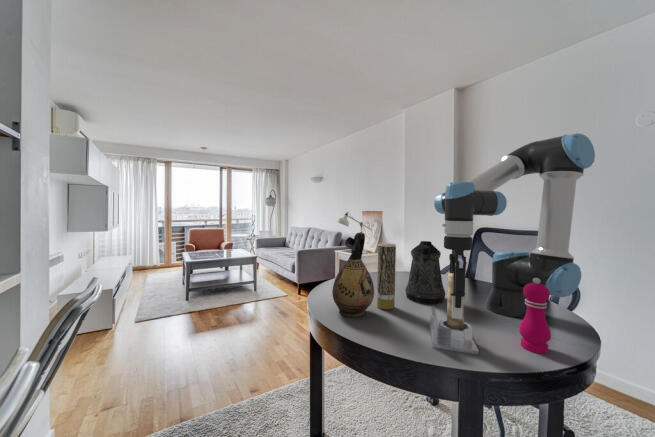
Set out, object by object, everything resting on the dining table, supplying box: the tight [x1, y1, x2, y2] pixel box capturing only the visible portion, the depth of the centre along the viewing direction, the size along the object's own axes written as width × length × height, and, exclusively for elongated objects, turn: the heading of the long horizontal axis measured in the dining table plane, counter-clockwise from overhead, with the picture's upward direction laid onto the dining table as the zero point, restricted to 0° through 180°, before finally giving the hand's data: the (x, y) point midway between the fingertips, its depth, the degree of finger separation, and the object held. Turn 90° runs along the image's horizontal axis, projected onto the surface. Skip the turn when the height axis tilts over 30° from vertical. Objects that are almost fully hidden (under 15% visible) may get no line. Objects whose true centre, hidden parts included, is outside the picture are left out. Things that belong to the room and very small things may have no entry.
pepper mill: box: [518, 278, 552, 354], centre depth 79 cm, size 7×7×20 cm
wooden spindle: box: [446, 272, 466, 330], centre depth 82 cm, size 4×4×16 cm
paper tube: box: [376, 242, 397, 311], centre depth 110 cm, size 7×7×25 cm
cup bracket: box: [429, 305, 480, 355], centre depth 83 cm, size 12×12×8 cm
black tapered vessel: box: [404, 240, 446, 305], centre depth 121 cm, size 16×19×25 cm
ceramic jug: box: [331, 231, 375, 318], centre depth 105 cm, size 17×15×30 cm
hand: (455, 314), depth 82 cm, fingers closed on wooden spindle, 4 cm apart
